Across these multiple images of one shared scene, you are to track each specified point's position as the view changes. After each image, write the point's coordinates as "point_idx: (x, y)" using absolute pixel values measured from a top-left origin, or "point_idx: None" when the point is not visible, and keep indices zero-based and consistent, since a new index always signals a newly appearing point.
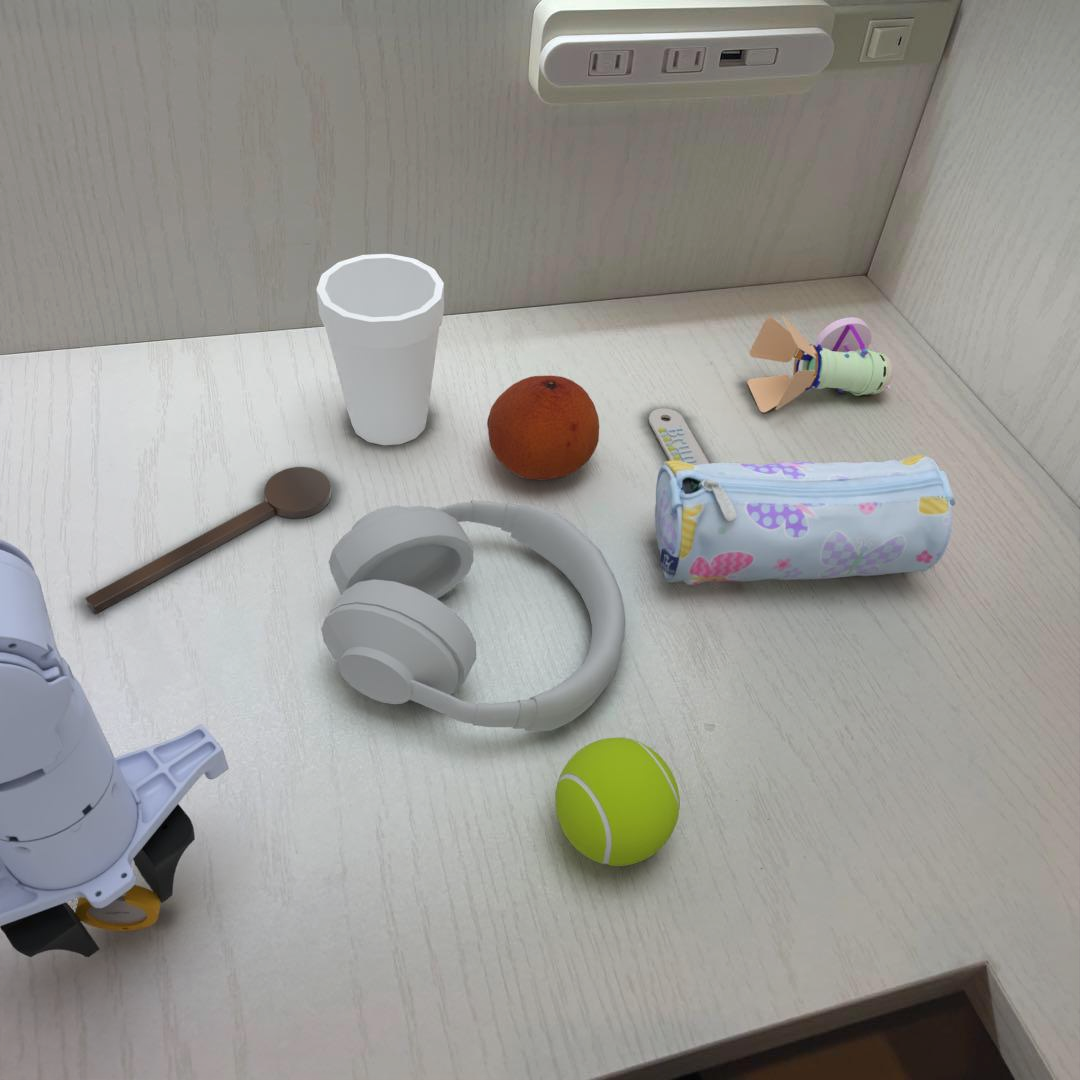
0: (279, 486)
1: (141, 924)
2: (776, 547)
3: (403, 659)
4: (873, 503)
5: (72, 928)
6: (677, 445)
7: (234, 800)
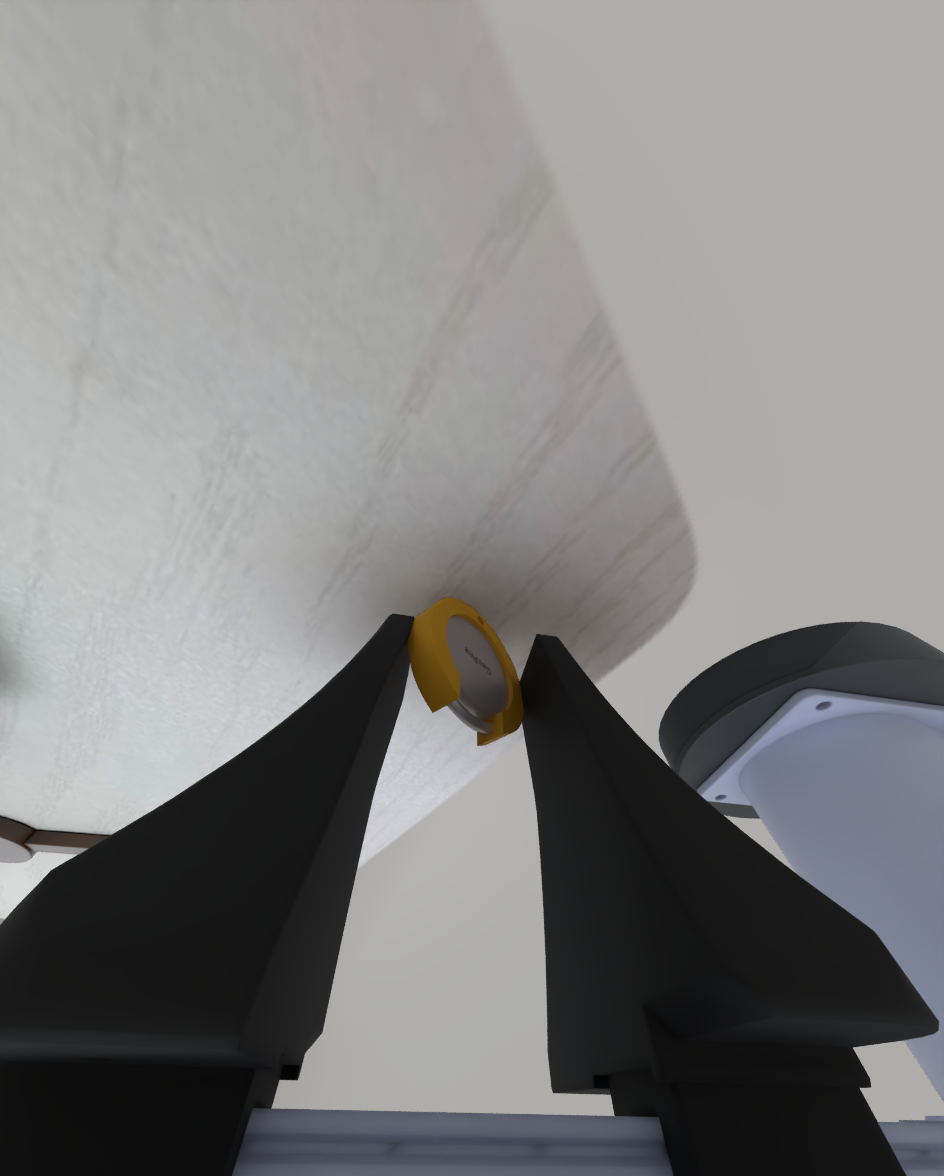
0: (7, 854)
1: (461, 610)
2: None
3: None
4: None
5: (686, 883)
6: None
7: (239, 639)
